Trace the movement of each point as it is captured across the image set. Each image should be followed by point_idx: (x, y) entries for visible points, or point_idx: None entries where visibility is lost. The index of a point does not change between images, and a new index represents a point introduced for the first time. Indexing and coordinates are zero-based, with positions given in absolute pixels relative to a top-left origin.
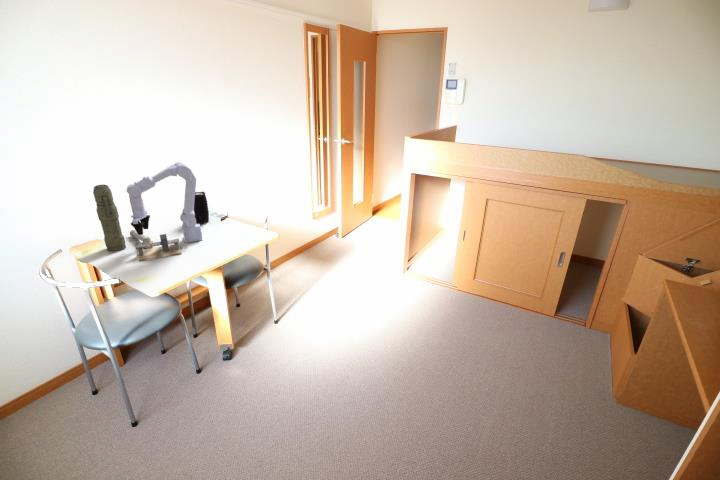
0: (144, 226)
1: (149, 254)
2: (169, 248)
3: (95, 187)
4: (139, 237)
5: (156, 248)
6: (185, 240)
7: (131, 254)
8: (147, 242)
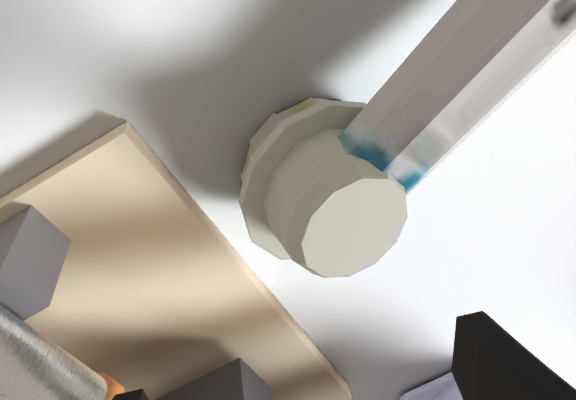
0: (493, 394)
1: (53, 315)
2: None
3: None
4: (471, 23)
5: (228, 295)
6: (439, 391)
7: (28, 67)
8: (275, 235)
